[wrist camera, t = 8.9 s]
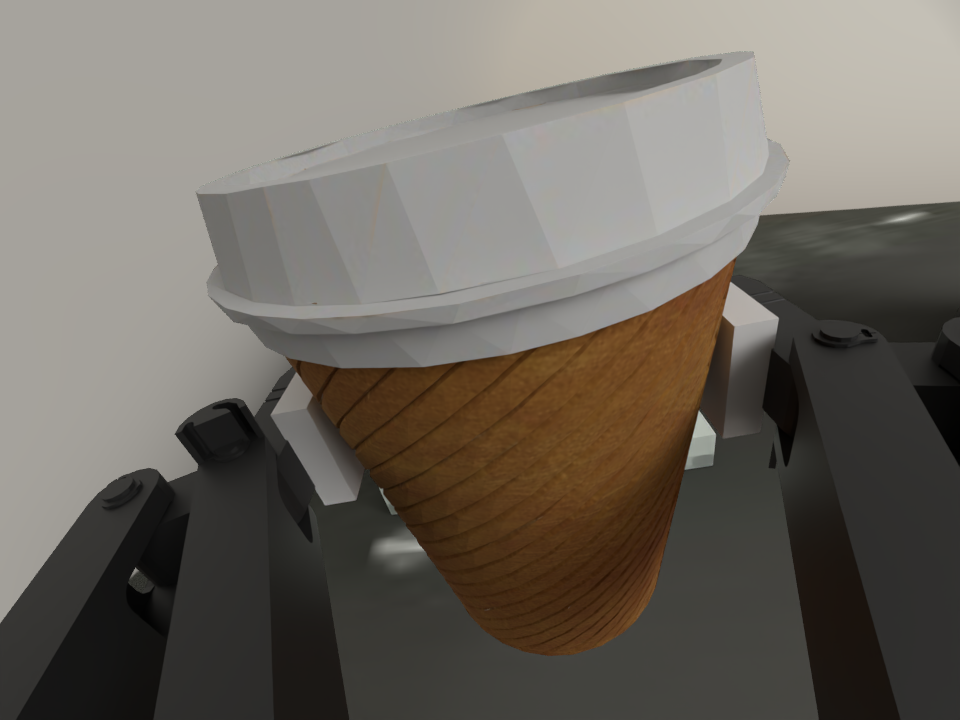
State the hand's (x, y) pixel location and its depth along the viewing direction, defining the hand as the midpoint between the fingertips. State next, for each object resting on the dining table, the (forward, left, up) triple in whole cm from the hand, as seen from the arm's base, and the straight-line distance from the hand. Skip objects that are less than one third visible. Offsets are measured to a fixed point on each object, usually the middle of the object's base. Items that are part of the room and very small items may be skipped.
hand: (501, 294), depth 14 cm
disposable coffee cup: (+4, +3, -7) cm, 8 cm away
